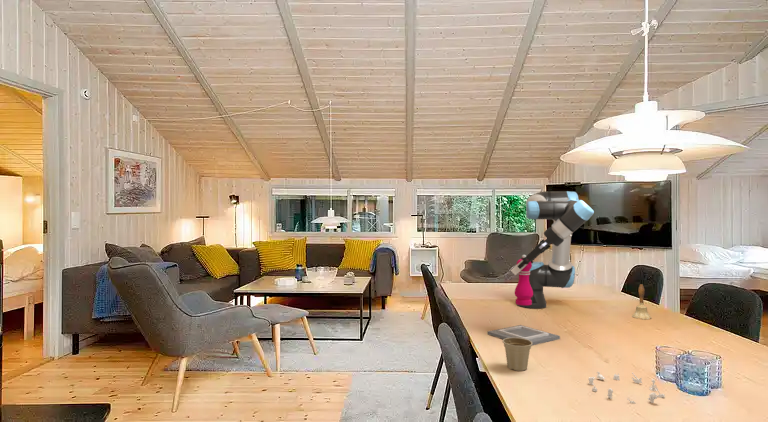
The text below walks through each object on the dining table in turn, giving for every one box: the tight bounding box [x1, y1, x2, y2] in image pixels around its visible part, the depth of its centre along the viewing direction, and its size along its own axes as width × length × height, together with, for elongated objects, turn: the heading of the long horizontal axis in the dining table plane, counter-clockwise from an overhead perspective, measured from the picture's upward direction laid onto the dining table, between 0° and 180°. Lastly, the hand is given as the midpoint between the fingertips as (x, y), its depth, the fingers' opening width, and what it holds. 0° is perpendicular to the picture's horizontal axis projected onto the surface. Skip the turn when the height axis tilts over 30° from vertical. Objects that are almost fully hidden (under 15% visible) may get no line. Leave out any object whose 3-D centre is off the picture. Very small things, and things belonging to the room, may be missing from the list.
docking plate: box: [487, 324, 561, 347], centre depth 189 cm, size 20×20×2 cm
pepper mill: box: [514, 254, 533, 306], centre depth 189 cm, size 7×7×20 cm
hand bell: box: [631, 283, 652, 320], centre depth 224 cm, size 8×8×16 cm
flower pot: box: [502, 338, 533, 372], centre depth 152 cm, size 9×9×9 cm
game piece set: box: [588, 371, 666, 404], centre depth 134 cm, size 19×20×4 cm
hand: (514, 271), depth 190 cm, fingers closed on pepper mill, 6 cm apart
